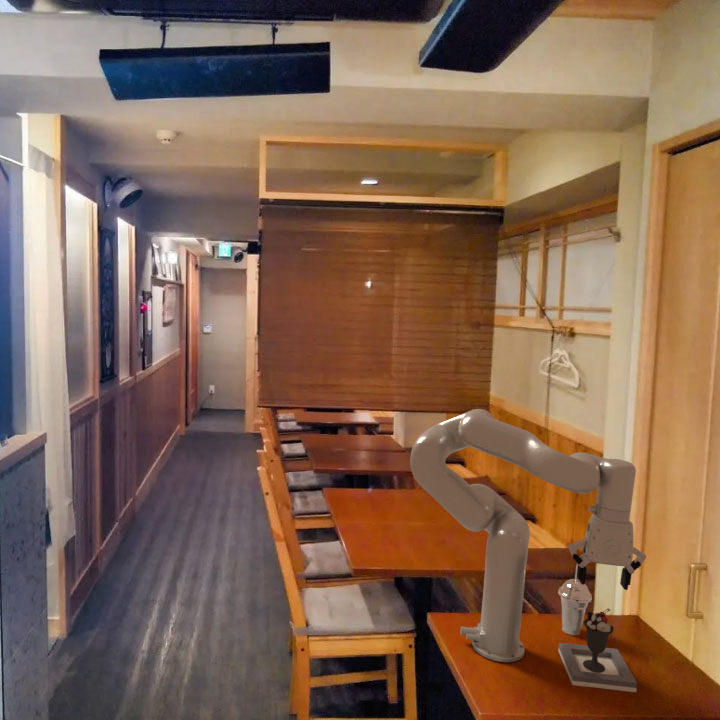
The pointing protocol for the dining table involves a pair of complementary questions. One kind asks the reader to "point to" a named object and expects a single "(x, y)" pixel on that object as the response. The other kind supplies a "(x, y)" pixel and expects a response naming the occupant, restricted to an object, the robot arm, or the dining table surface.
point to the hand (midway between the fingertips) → (602, 584)
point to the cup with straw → (573, 604)
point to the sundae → (597, 638)
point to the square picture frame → (611, 678)
